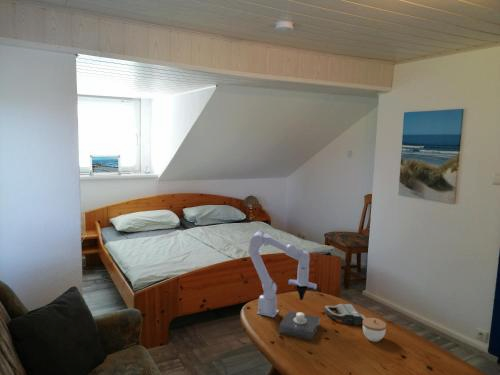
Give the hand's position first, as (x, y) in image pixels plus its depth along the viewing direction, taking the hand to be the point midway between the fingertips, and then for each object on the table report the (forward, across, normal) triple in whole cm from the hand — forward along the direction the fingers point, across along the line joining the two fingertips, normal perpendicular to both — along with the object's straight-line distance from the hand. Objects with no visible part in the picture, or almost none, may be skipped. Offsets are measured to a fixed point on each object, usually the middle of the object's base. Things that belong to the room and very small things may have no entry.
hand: (301, 299), depth 197 cm
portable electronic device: (+10, +21, +9) cm, 25 cm away
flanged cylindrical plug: (+7, +3, -13) cm, 15 cm away
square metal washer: (+9, +3, -13) cm, 16 cm away
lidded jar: (+10, +37, -6) cm, 39 cm away
